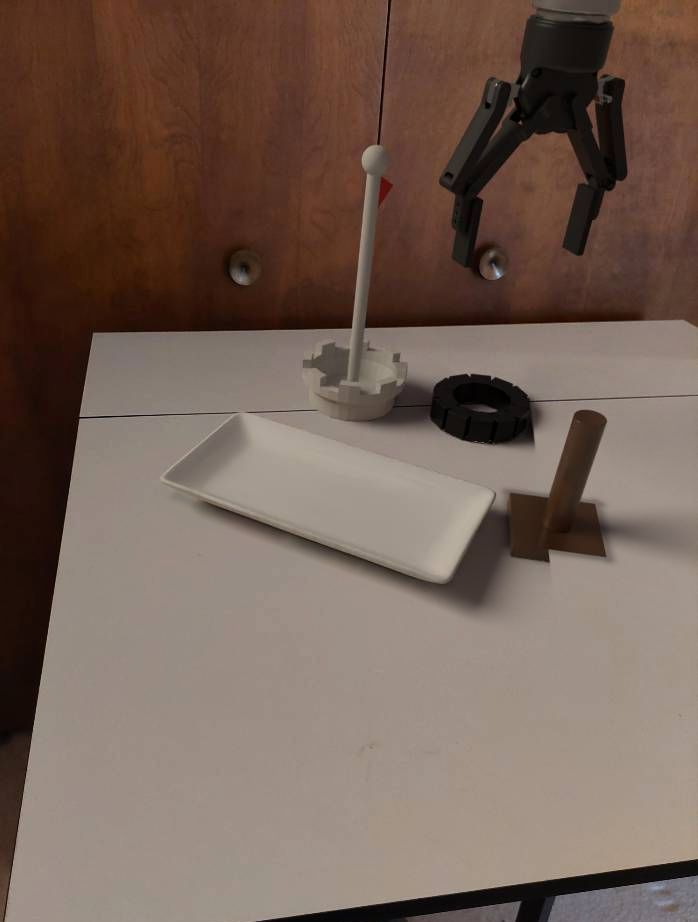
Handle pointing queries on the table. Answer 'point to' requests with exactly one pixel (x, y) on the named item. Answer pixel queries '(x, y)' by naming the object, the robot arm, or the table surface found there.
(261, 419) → the tray
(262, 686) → the table surface
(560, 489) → the post
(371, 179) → the flag stand
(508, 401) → the ring
